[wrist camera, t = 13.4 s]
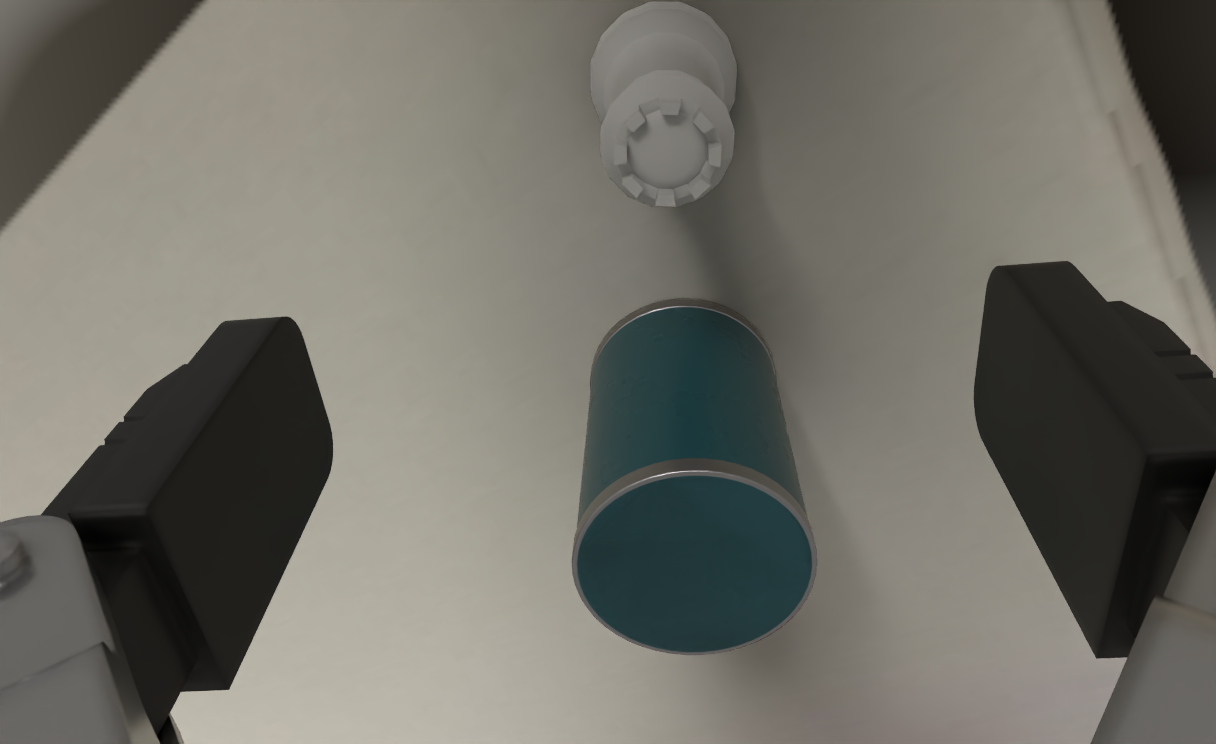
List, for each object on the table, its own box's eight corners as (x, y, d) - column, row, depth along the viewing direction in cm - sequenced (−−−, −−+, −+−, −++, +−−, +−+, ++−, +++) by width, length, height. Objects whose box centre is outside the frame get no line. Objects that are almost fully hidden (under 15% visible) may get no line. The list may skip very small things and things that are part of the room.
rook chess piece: (753, 15, 28) (789, 81, 21) (714, 159, 30) (734, 261, 23) (606, -19, 27) (592, 36, 20) (577, 129, 30) (556, 224, 23)
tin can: (581, 304, 33) (557, 477, 24) (774, 291, 32) (820, 464, 24) (600, 459, 36) (585, 660, 28) (774, 450, 36) (815, 651, 27)
